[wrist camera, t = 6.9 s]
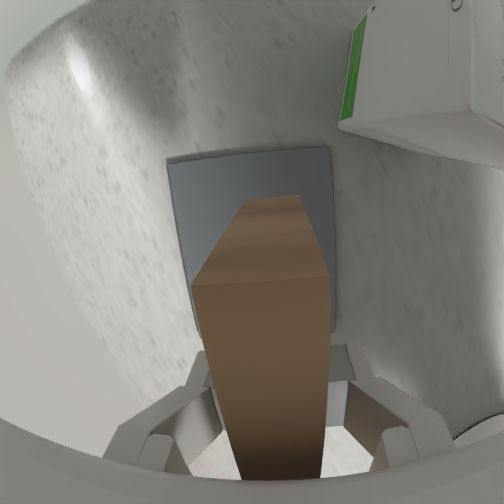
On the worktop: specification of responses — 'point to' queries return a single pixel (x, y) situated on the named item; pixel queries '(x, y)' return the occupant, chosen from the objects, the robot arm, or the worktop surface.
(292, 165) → the slate mat
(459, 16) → the skincare box
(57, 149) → the worktop surface
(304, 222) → the walnut slab
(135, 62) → the worktop surface
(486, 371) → the worktop surface
